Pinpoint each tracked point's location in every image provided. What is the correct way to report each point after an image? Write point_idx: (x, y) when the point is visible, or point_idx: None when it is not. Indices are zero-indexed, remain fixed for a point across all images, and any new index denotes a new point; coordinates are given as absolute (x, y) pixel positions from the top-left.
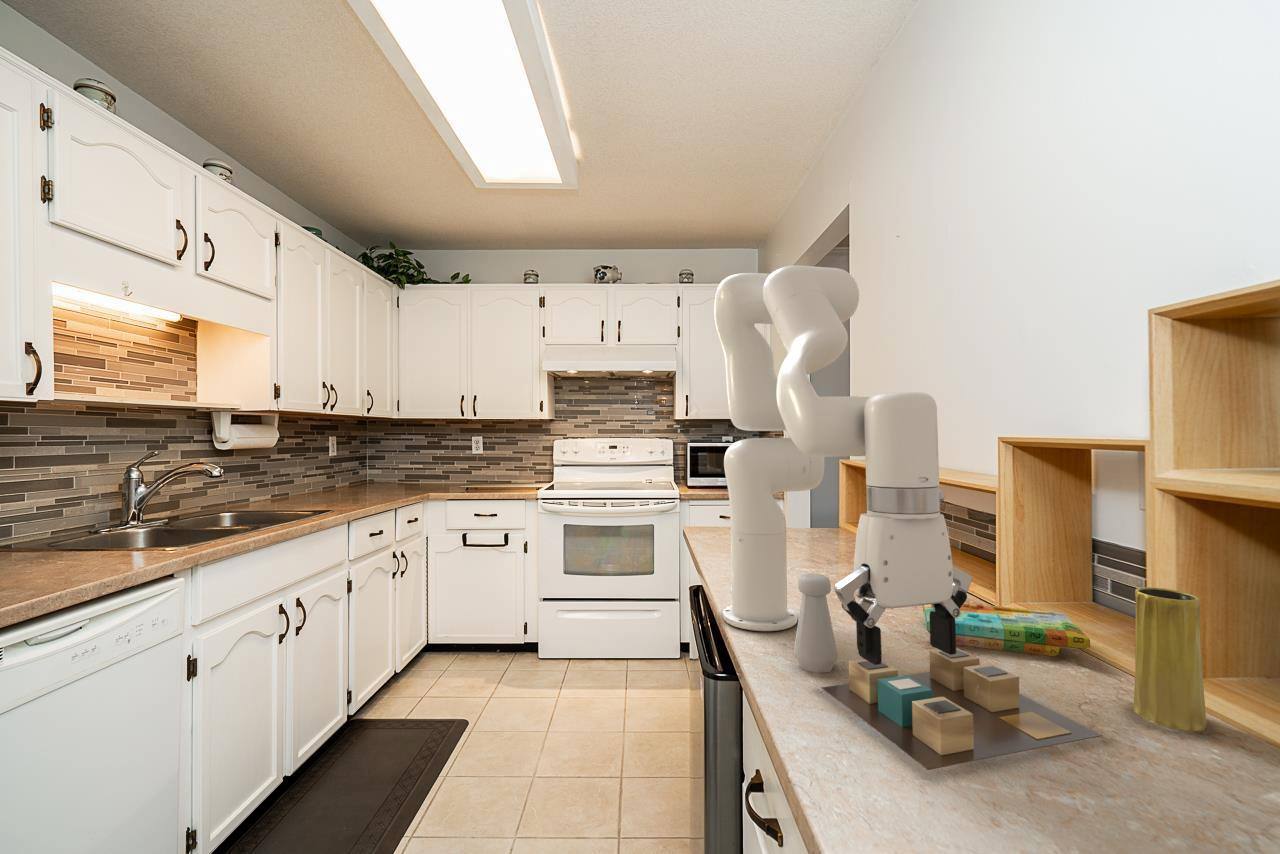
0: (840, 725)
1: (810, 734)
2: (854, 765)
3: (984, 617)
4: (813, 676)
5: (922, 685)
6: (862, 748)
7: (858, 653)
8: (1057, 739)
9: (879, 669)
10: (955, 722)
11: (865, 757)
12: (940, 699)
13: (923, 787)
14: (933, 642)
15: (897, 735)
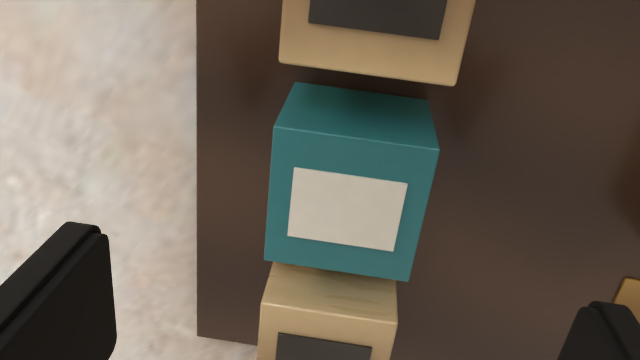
0: (129, 70)
1: (5, 75)
2: None
3: None
4: None
5: (406, 246)
6: (122, 193)
7: (68, 222)
8: None
9: (368, 44)
10: None
11: (106, 224)
12: (365, 334)
13: (165, 342)
14: (583, 338)
15: (237, 218)
